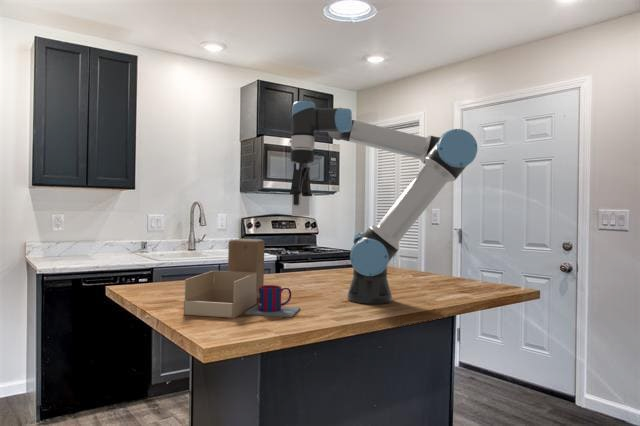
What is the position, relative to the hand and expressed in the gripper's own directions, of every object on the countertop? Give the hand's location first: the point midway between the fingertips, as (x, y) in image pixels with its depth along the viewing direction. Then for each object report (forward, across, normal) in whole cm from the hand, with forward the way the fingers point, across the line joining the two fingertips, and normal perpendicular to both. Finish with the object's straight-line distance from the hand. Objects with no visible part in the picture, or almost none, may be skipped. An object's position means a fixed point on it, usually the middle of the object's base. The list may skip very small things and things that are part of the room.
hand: (300, 215), depth 150 cm
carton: (+29, +13, -21) cm, 38 cm away
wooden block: (+29, -6, -20) cm, 36 cm away
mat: (+29, +13, -5) cm, 32 cm away
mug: (+28, +12, -5) cm, 31 cm away
